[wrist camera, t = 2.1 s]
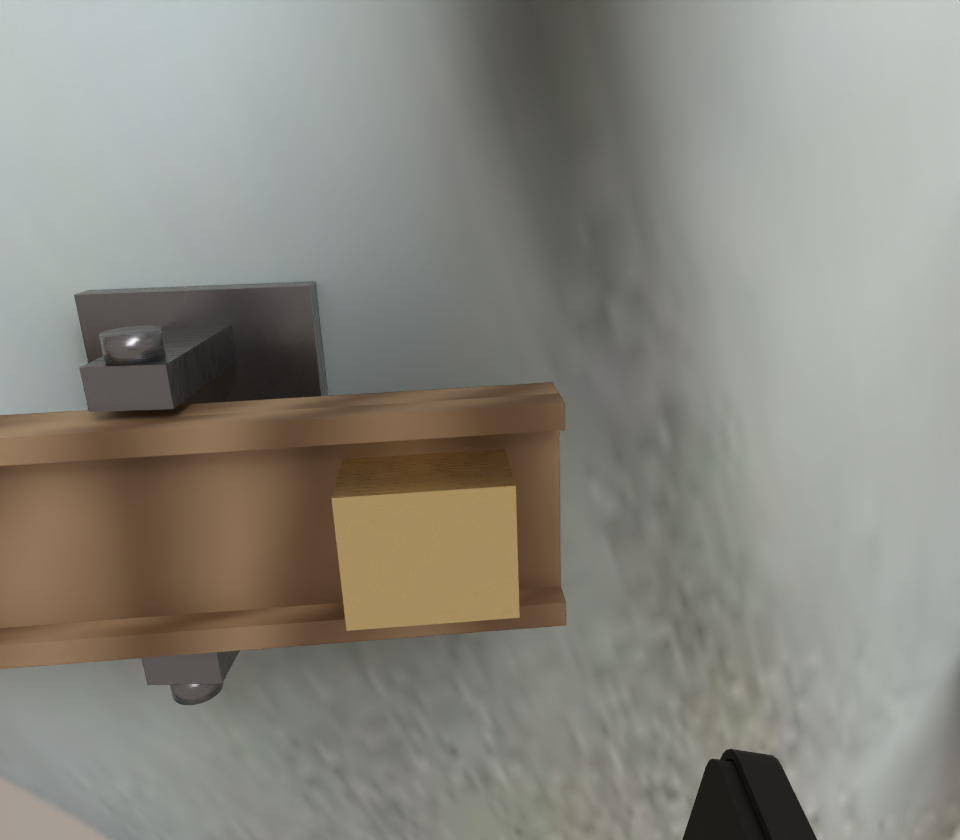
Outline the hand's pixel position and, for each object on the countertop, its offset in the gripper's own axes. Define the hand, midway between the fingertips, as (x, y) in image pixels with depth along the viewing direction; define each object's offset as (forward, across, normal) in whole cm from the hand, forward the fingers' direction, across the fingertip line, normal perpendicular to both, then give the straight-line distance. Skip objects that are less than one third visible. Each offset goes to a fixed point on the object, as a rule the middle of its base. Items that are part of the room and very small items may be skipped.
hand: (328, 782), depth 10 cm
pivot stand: (+26, +9, +7) cm, 28 cm away
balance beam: (+19, +9, +7) cm, 22 cm away
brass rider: (+19, 0, +5) cm, 20 cm away
